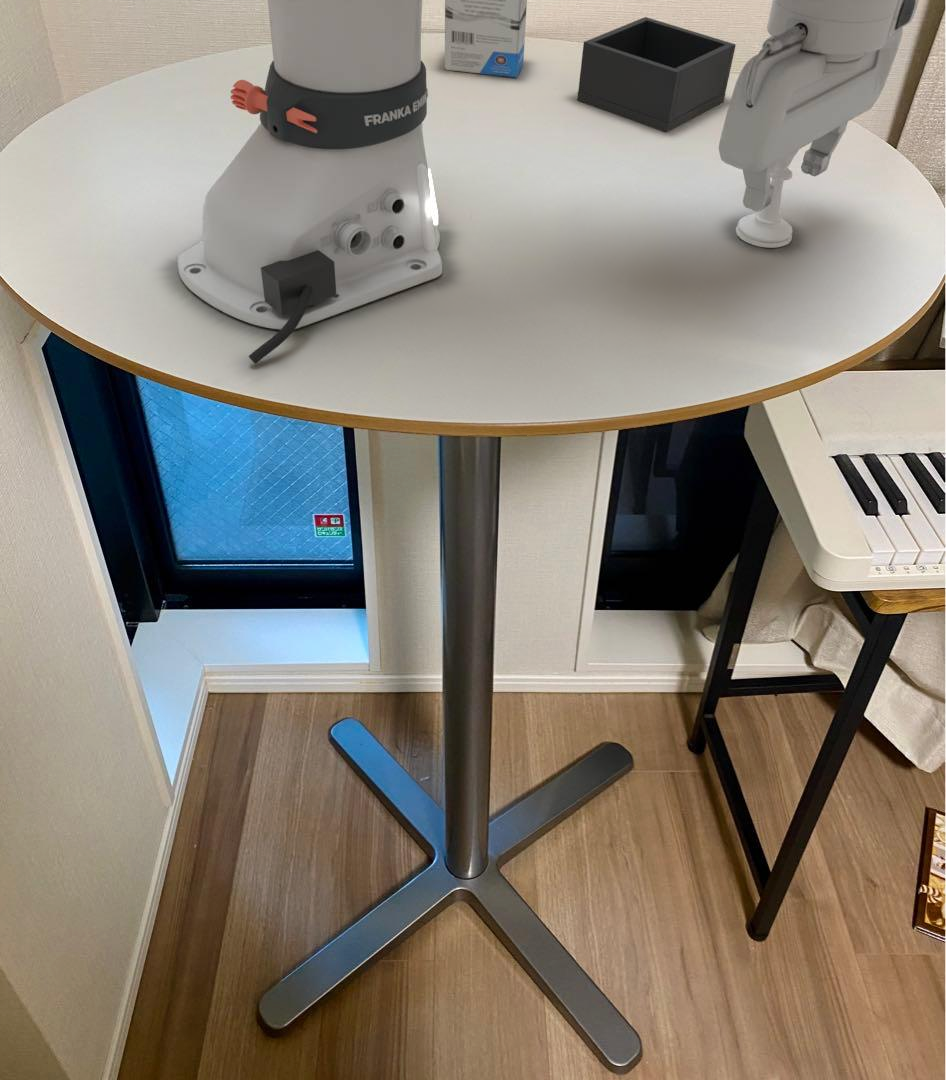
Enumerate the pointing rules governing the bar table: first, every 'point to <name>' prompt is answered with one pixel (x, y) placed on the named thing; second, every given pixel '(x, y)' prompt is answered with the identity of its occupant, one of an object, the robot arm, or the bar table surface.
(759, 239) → the chess piece
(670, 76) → the bin
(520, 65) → the ink box
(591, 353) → the bar table surface
